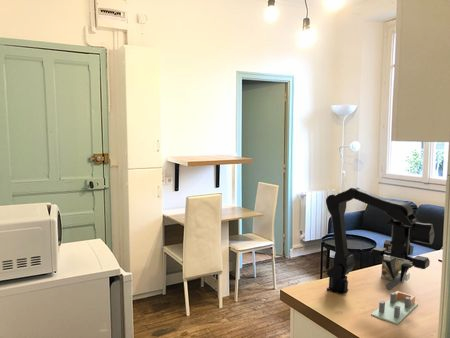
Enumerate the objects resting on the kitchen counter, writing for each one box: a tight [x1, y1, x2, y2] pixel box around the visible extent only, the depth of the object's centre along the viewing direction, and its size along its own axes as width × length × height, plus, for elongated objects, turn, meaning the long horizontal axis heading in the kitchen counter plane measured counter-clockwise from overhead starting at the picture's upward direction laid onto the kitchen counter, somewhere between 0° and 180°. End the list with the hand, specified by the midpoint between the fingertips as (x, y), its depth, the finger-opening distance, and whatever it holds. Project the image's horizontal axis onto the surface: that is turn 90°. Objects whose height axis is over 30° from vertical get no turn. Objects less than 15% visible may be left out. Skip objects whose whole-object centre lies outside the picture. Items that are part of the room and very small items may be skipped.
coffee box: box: [380, 239, 404, 283], centre depth 164 cm, size 9×6×16 cm
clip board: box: [370, 290, 419, 325], centre depth 134 cm, size 9×21×4 cm, turn 136°
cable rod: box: [385, 271, 411, 291], centre depth 134 cm, size 3×17×2 cm, turn 136°
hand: (397, 280), depth 134 cm, fingers closed on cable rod, 2 cm apart
